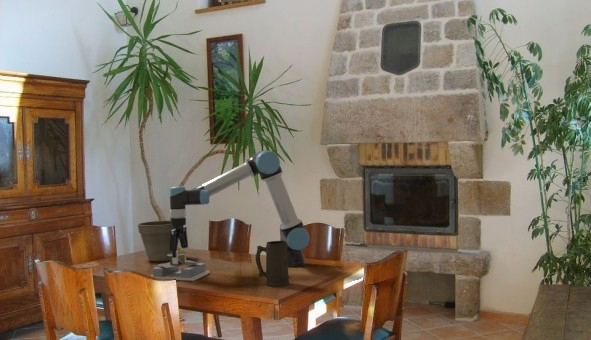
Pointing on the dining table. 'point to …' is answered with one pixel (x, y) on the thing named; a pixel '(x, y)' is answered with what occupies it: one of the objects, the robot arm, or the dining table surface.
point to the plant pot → (156, 239)
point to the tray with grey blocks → (181, 272)
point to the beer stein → (274, 263)
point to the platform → (180, 260)
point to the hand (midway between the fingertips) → (179, 262)
